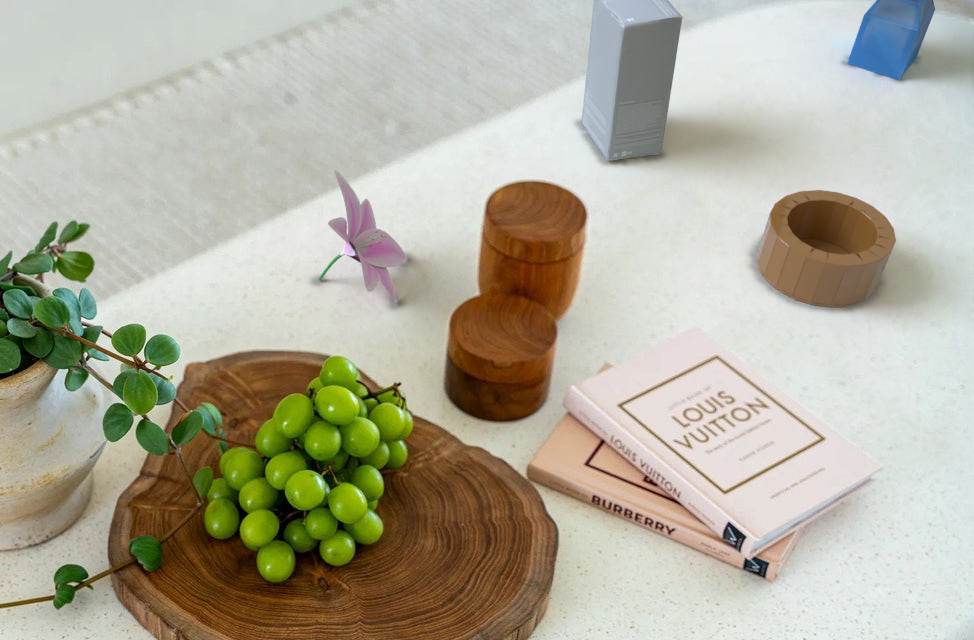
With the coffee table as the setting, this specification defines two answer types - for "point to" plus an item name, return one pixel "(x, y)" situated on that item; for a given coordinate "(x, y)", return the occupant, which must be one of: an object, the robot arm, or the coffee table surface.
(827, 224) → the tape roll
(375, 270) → the lily
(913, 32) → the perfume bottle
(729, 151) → the coffee table surface
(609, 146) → the cosmetic box
